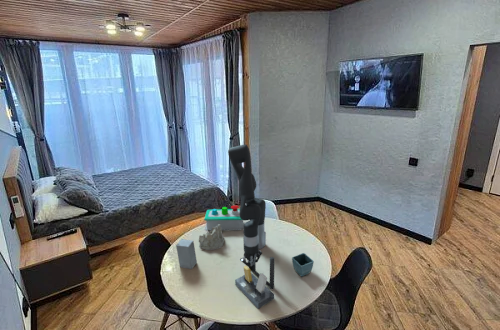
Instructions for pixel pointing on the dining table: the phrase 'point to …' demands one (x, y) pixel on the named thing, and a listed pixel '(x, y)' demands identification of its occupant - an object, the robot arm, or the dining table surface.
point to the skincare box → (186, 253)
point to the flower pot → (302, 264)
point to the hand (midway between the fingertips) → (251, 270)
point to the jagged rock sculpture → (212, 239)
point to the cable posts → (270, 273)
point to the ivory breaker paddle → (261, 282)
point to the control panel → (224, 219)
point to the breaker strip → (254, 291)
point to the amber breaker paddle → (247, 274)
